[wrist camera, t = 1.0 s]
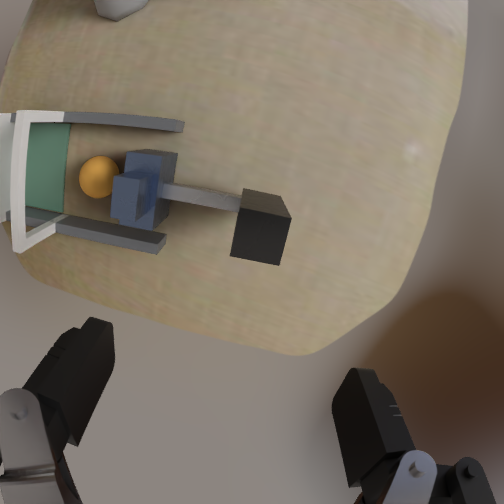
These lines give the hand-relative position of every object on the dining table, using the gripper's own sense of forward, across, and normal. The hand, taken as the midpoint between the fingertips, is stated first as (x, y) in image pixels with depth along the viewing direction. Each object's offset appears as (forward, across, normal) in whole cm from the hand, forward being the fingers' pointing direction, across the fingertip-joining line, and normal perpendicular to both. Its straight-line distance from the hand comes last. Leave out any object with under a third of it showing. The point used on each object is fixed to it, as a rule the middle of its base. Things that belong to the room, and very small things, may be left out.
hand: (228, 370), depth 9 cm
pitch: (+20, +17, -1) cm, 27 cm away
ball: (+18, +14, -1) cm, 23 cm away
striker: (+20, +4, -1) cm, 21 cm away
